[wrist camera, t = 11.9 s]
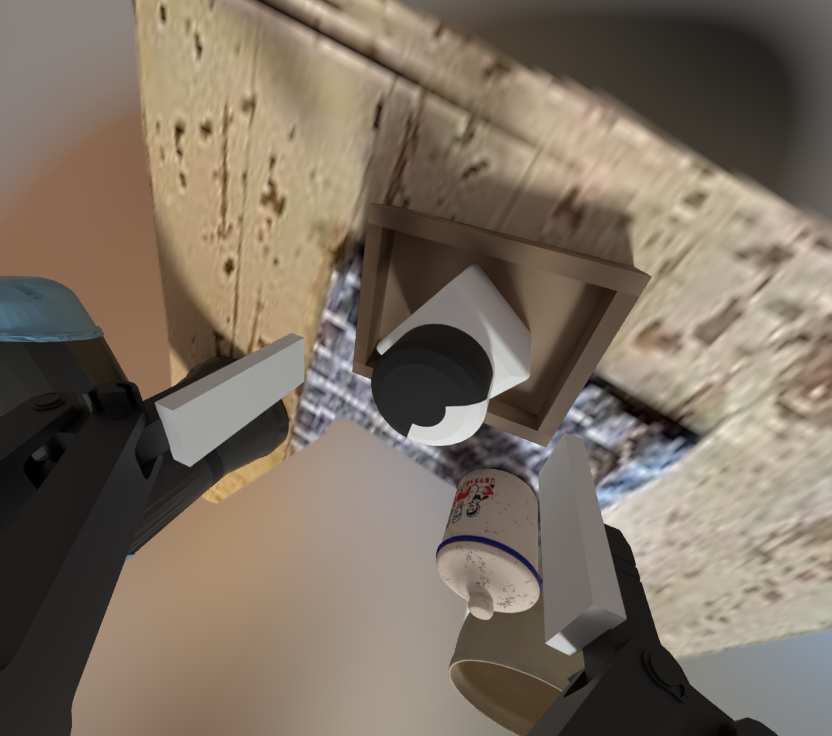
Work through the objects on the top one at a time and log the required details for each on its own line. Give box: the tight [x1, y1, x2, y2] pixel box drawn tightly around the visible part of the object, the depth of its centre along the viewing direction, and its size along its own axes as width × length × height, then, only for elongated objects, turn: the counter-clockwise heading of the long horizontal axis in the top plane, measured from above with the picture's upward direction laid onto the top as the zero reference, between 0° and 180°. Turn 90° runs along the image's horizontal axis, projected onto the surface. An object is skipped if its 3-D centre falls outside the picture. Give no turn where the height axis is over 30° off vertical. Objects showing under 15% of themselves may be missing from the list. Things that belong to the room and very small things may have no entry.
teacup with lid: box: [436, 468, 541, 620], centre depth 29 cm, size 12×9×12 cm
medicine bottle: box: [371, 263, 532, 446], centre depth 19 cm, size 7×7×12 cm
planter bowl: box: [448, 582, 585, 736], centre depth 35 cm, size 16×16×11 cm
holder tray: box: [352, 204, 652, 447], centre depth 23 cm, size 18×14×4 cm
